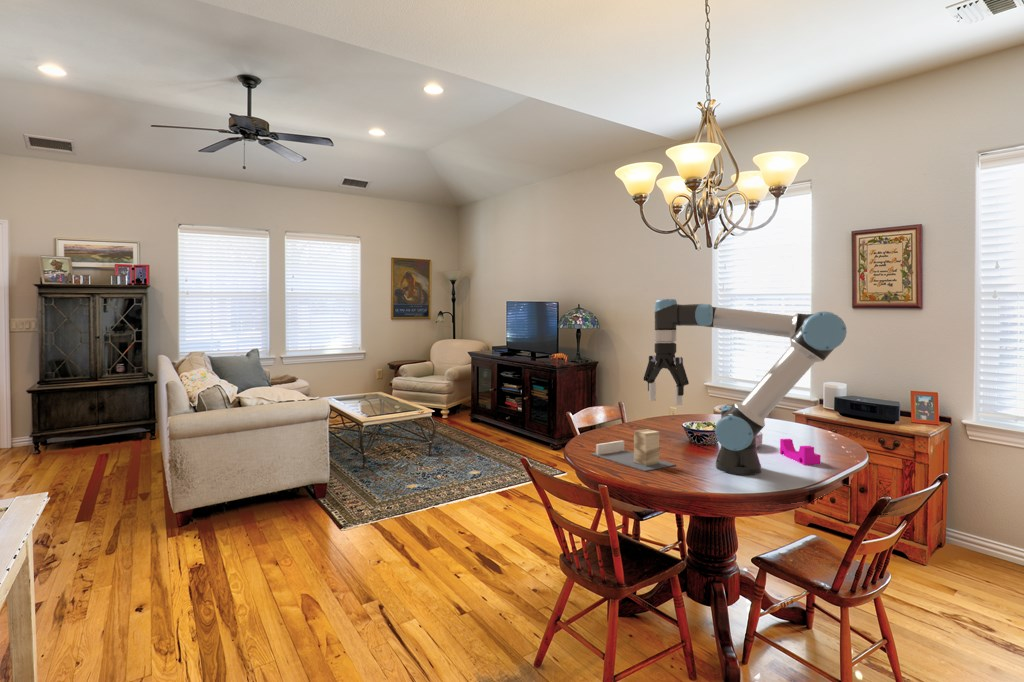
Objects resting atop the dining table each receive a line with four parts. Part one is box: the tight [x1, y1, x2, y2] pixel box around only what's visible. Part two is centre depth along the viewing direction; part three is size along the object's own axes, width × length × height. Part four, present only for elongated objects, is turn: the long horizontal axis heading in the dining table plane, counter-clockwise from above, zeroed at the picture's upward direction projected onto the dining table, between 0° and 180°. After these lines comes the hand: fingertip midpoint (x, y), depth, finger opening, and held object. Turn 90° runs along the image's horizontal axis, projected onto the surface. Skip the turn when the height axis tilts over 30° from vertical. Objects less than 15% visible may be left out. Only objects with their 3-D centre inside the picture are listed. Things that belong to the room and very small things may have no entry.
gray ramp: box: [589, 449, 677, 472], centre depth 205 cm, size 30×16×1 cm, turn 31°
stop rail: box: [595, 440, 625, 455], centre depth 215 cm, size 1×14×4 cm, turn 121°
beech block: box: [633, 428, 660, 466], centre depth 198 cm, size 6×7×12 cm
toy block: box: [779, 438, 821, 466], centre depth 202 cm, size 15×6×8 cm, turn 5°
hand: (665, 402), depth 190 cm, fingers open, 12 cm apart
